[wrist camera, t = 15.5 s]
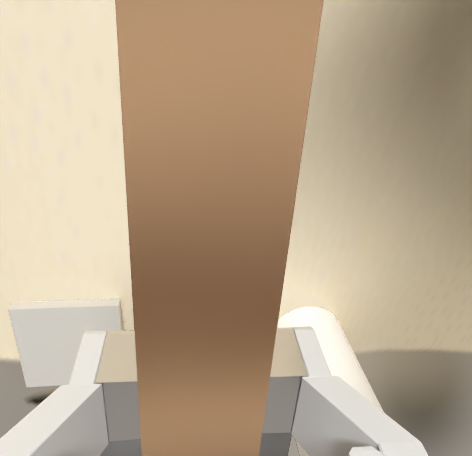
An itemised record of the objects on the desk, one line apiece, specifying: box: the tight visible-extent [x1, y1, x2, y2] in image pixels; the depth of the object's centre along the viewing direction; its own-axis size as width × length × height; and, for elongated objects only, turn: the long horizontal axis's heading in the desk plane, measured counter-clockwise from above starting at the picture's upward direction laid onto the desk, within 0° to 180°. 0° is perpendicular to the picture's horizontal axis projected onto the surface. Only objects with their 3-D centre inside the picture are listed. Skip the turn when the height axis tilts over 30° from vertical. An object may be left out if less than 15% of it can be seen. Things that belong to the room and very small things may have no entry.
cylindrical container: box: [277, 307, 383, 456], centre depth 32 cm, size 7×7×25 cm
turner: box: [100, 0, 323, 456], centre depth 11 cm, size 22×6×4 cm, turn 177°
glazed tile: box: [8, 298, 123, 387], centre depth 40 cm, size 9×2×9 cm
